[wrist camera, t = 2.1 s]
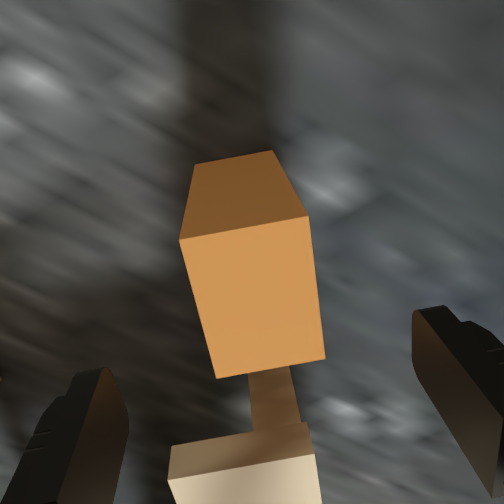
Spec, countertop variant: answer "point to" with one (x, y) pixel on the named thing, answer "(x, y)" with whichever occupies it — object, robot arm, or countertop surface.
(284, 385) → the cream u-shaped stand
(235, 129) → the countertop surface
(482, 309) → the countertop surface
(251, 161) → the tan wooden post
